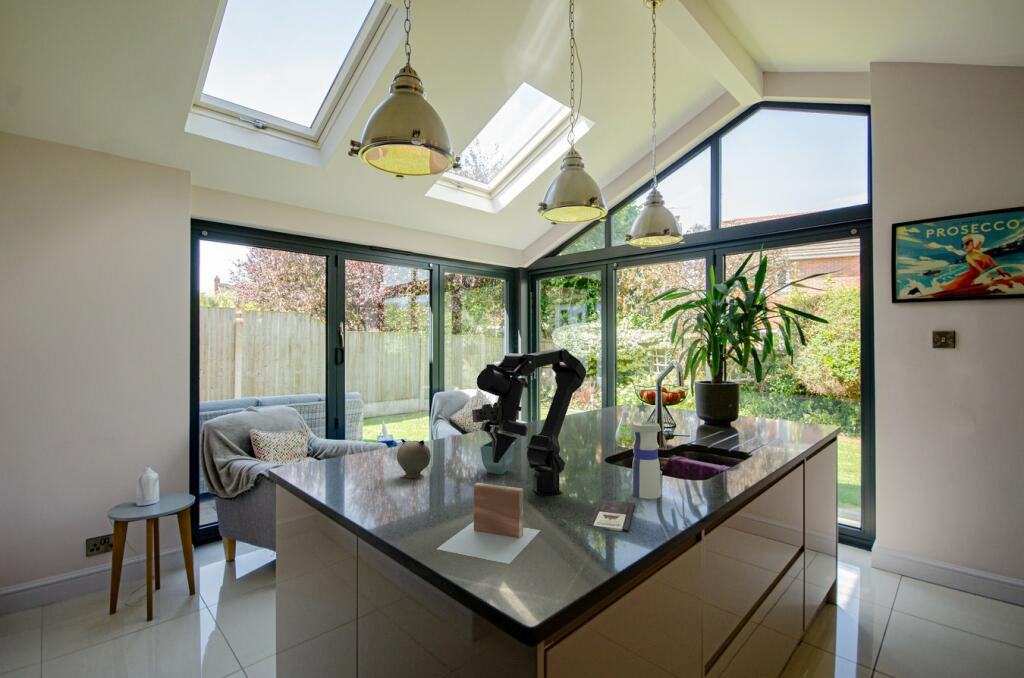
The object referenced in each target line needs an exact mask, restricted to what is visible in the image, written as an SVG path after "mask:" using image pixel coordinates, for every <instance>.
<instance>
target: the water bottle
mask: <svg viewBox="0 0 1024 678" xmlns="http://www.w3.org/2000/svg"><path fill="white" fill-rule="evenodd" d="M648 406H649V405H648V404H645V403H644V402H643V400H642V401H641V403H640V404H637V405H636V407H637V408H638V409H639V410H638V413H641V412H644V413H646V412H647V411H646V408H648ZM661 431H662V428H661V426H660V424H659V423H657V422H653V421H643V422H641V425H638V424H635V423H633V422H631V424H630V434H633V433H634V437H635V439H634V442H633V443H632V446H633V447H632V453H633V459H632V482H631V483H632V484H631V495H633V496H634V497H636V498H639V499H644V500H645V499H646V500H656V499H660V498H661V496H662V493H661V492H662V491H661V490H662V489H661V475H660V474H661V473H660V471H661V467H660V459H659V454H658V453H659V448H660V445H659V443H658V438H657V437H658V432H661Z"/></svg>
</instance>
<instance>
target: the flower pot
mask: <svg viewBox="0 0 1024 678" xmlns="http://www.w3.org/2000/svg"><path fill="white" fill-rule="evenodd" d="M515 444H516V443H515V441H514V442H513V443H512V444H511V446H510V447H509V448H508V450H507V451H506V452H505V454H504V455H503V457H502V458H501V459H500V461H499V462H498V463H494V462H493V452H492V440H490V441H488V442H486V443H484V444H482V445H480V454H481V455H480V456H481V460H482V464H483V467H484V469H485V470H486V472H487V473H488V474H495V475H496V474H497V475H503V474H505V473H506V472H508V471H509V469H510V467H511V465H512V463H513V461H514V460H513V459H514V454H515V446H516V445H515Z"/></svg>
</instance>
